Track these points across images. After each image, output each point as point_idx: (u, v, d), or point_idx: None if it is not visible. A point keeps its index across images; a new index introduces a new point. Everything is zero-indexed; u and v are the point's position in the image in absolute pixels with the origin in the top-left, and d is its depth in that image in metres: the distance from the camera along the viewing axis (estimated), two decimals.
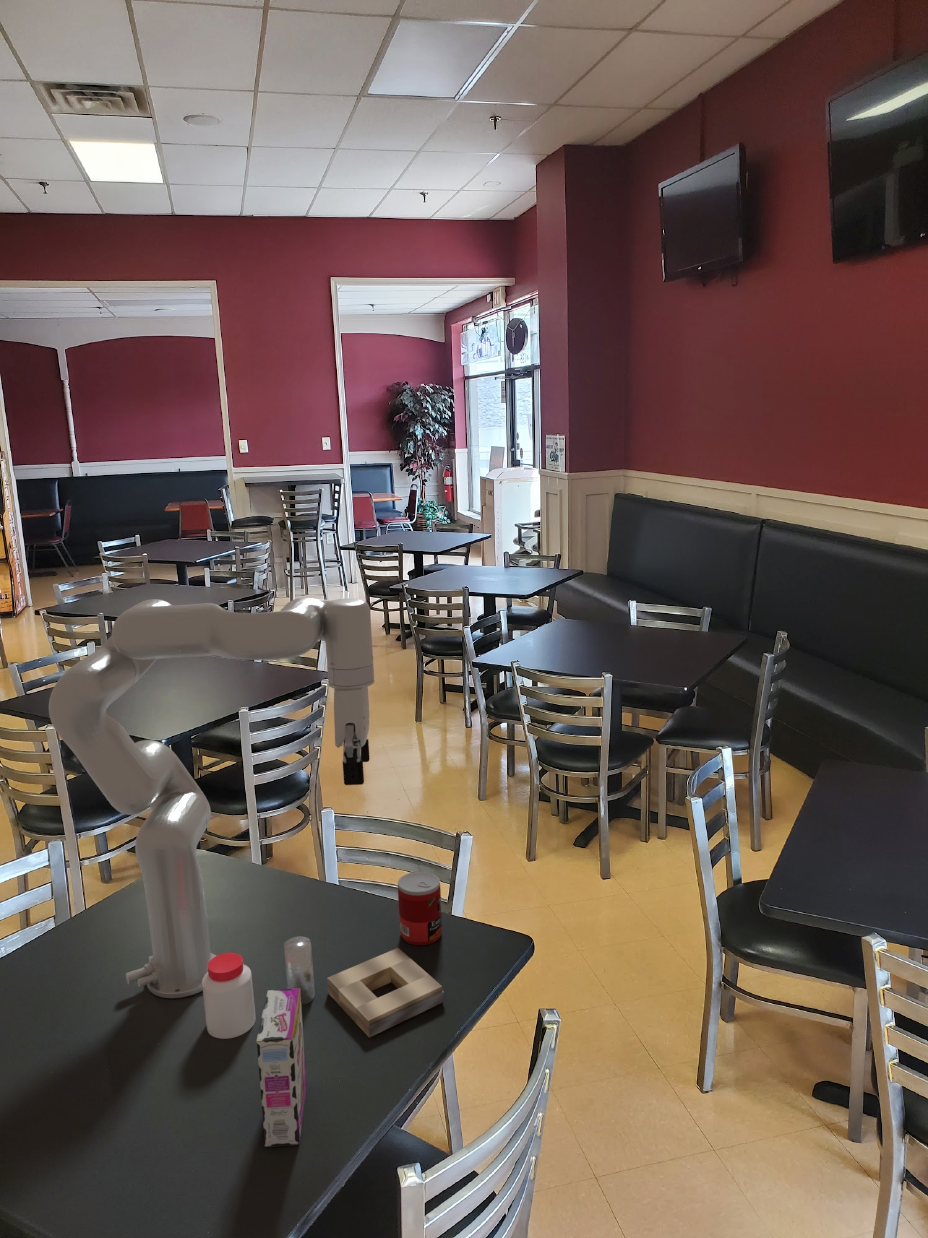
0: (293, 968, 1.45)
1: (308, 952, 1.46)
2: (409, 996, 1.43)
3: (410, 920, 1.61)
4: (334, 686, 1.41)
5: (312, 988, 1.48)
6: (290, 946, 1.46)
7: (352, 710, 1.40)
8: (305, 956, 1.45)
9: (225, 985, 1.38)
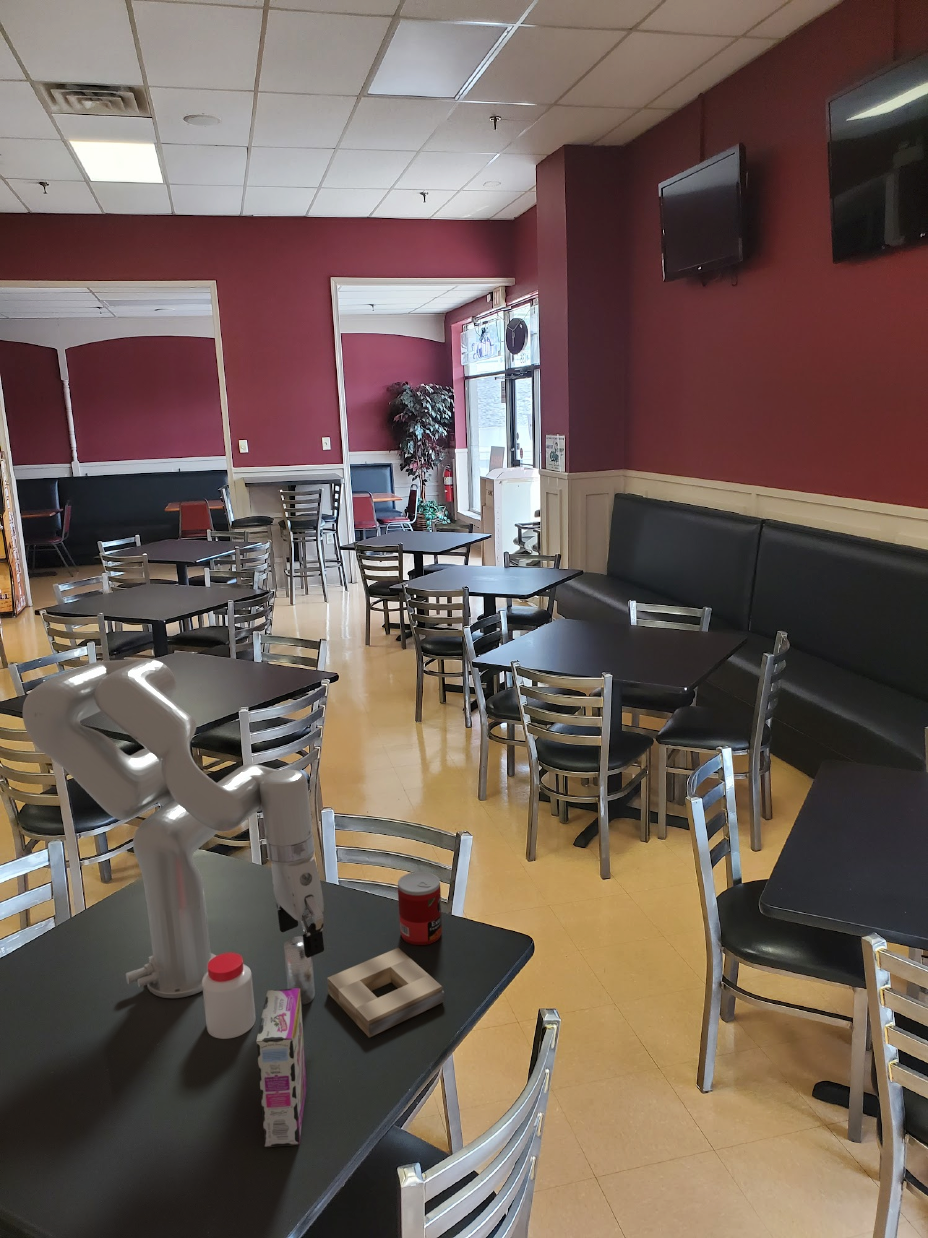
0: (293, 968, 1.45)
1: None
2: (409, 996, 1.43)
3: (410, 920, 1.61)
4: None
5: (312, 988, 1.48)
6: (290, 946, 1.46)
7: None
8: (305, 956, 1.45)
9: (225, 985, 1.38)
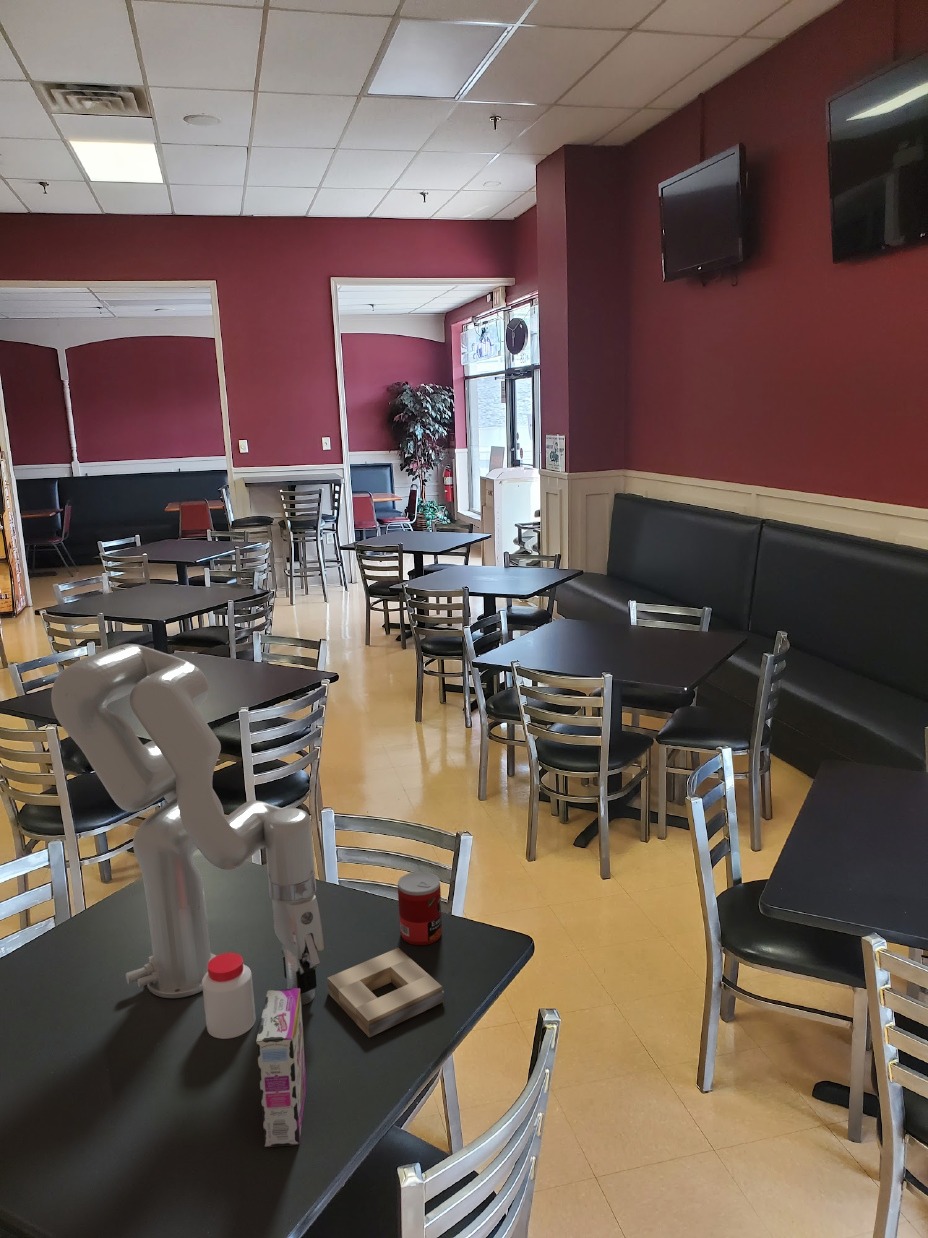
0: (293, 968, 1.45)
1: None
2: (409, 996, 1.43)
3: (410, 920, 1.61)
4: None
5: None
6: None
7: None
8: None
9: (225, 985, 1.38)
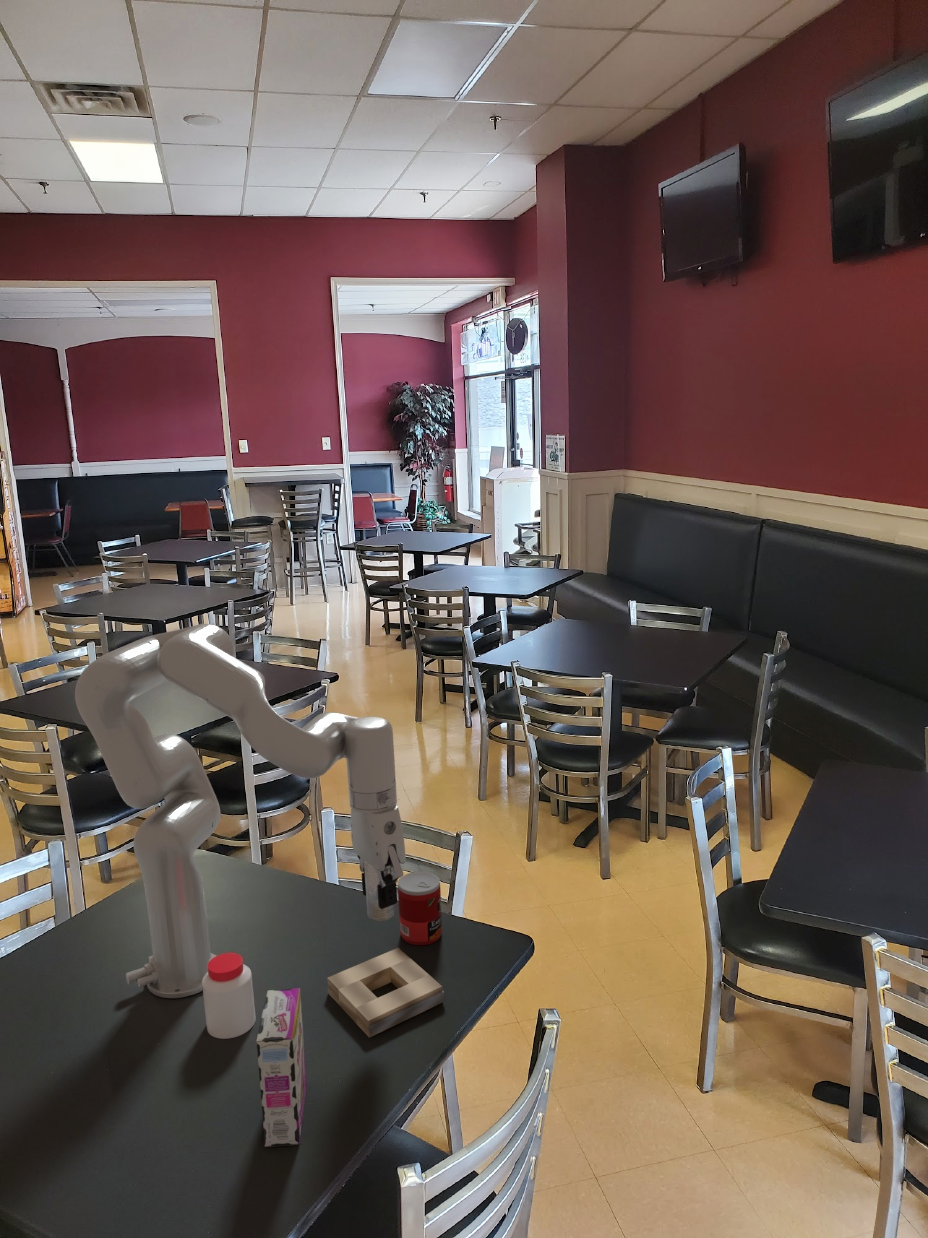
0: (374, 881, 1.41)
1: None
2: (409, 996, 1.43)
3: (410, 920, 1.61)
4: None
5: None
6: None
7: None
8: None
9: (225, 985, 1.38)
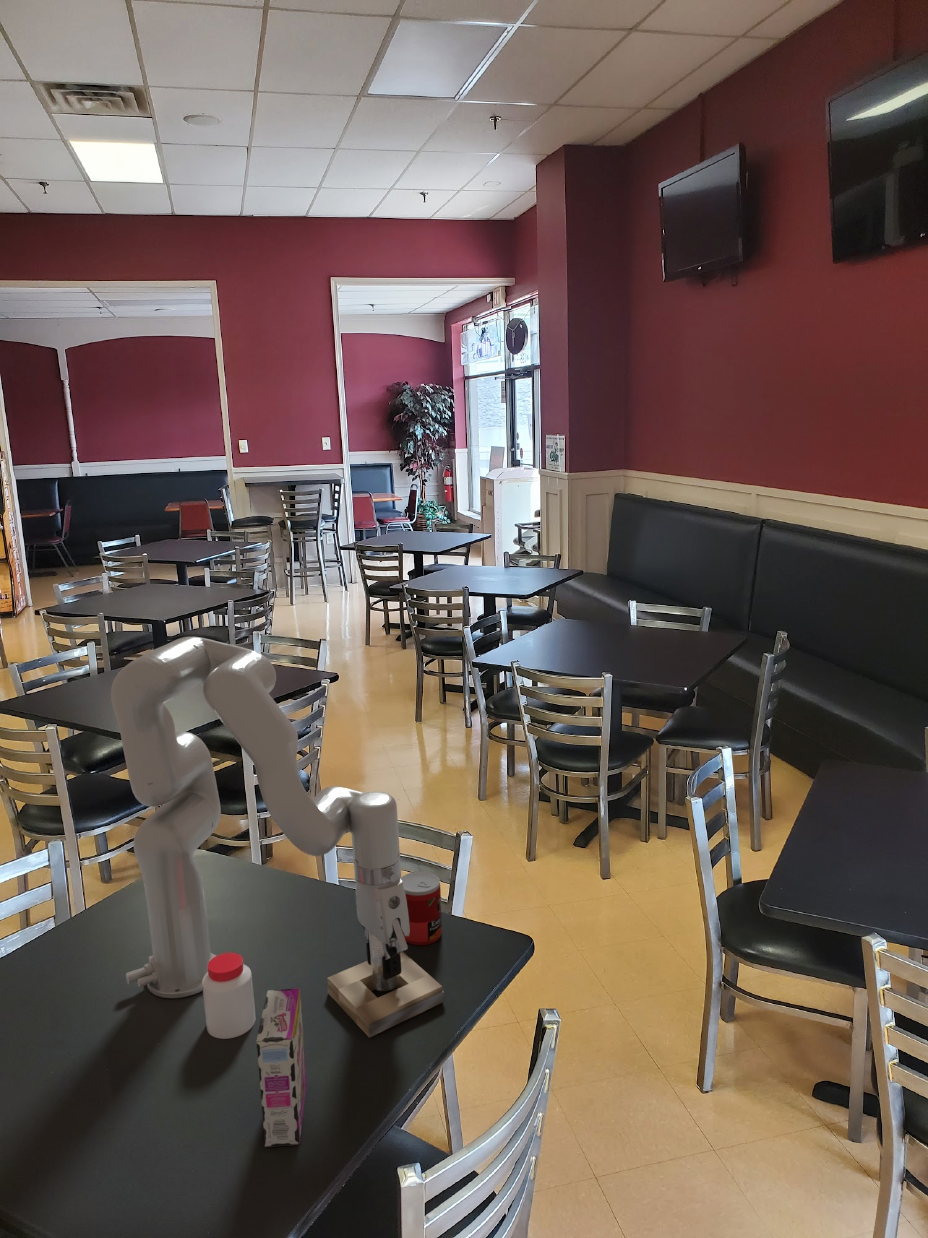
0: (378, 953, 1.44)
1: None
2: (409, 996, 1.43)
3: (410, 920, 1.61)
4: None
5: None
6: None
7: None
8: None
9: (225, 985, 1.38)
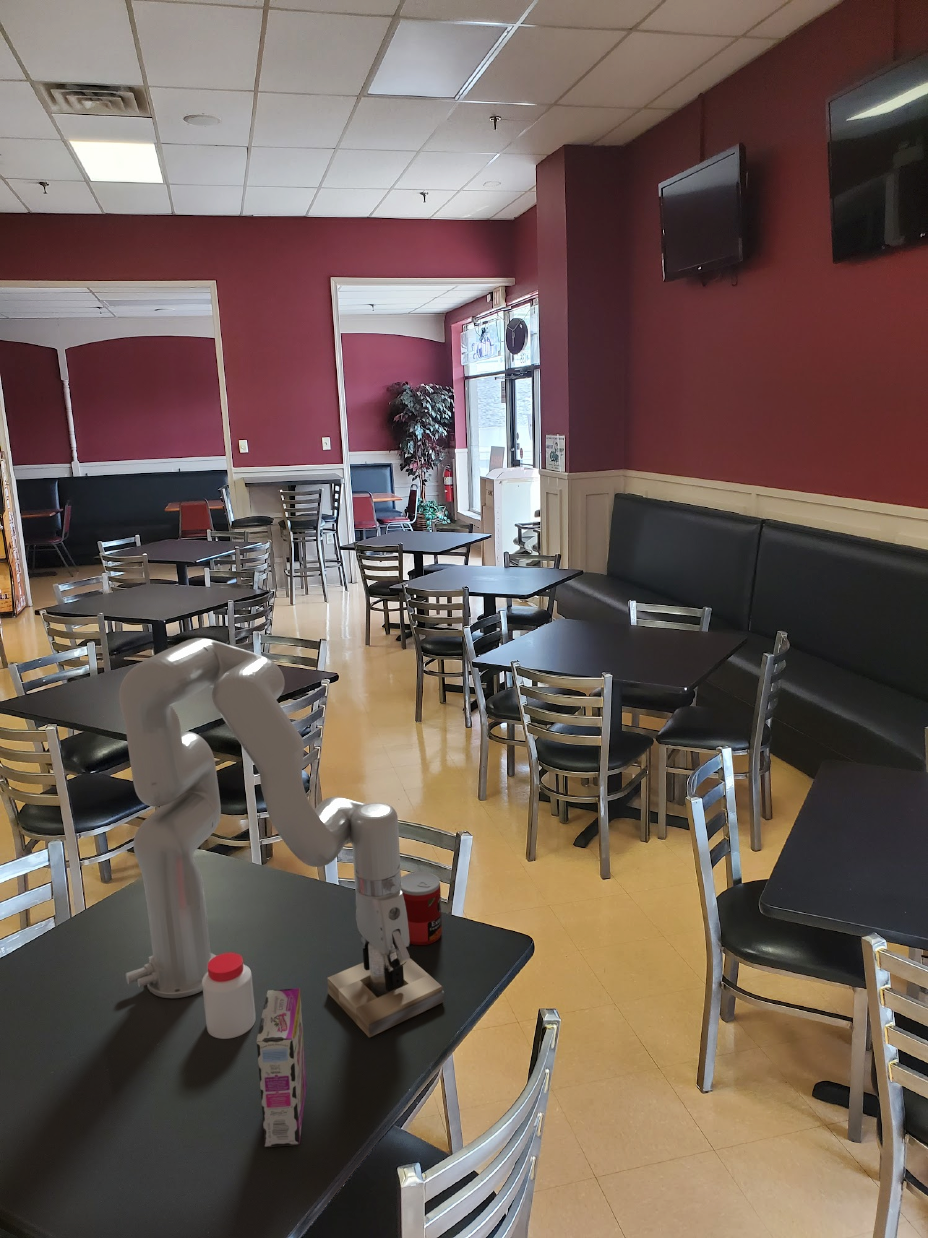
0: (378, 968, 1.44)
1: None
2: (409, 996, 1.43)
3: (410, 920, 1.61)
4: None
5: None
6: None
7: None
8: (390, 957, 1.44)
9: (225, 985, 1.38)
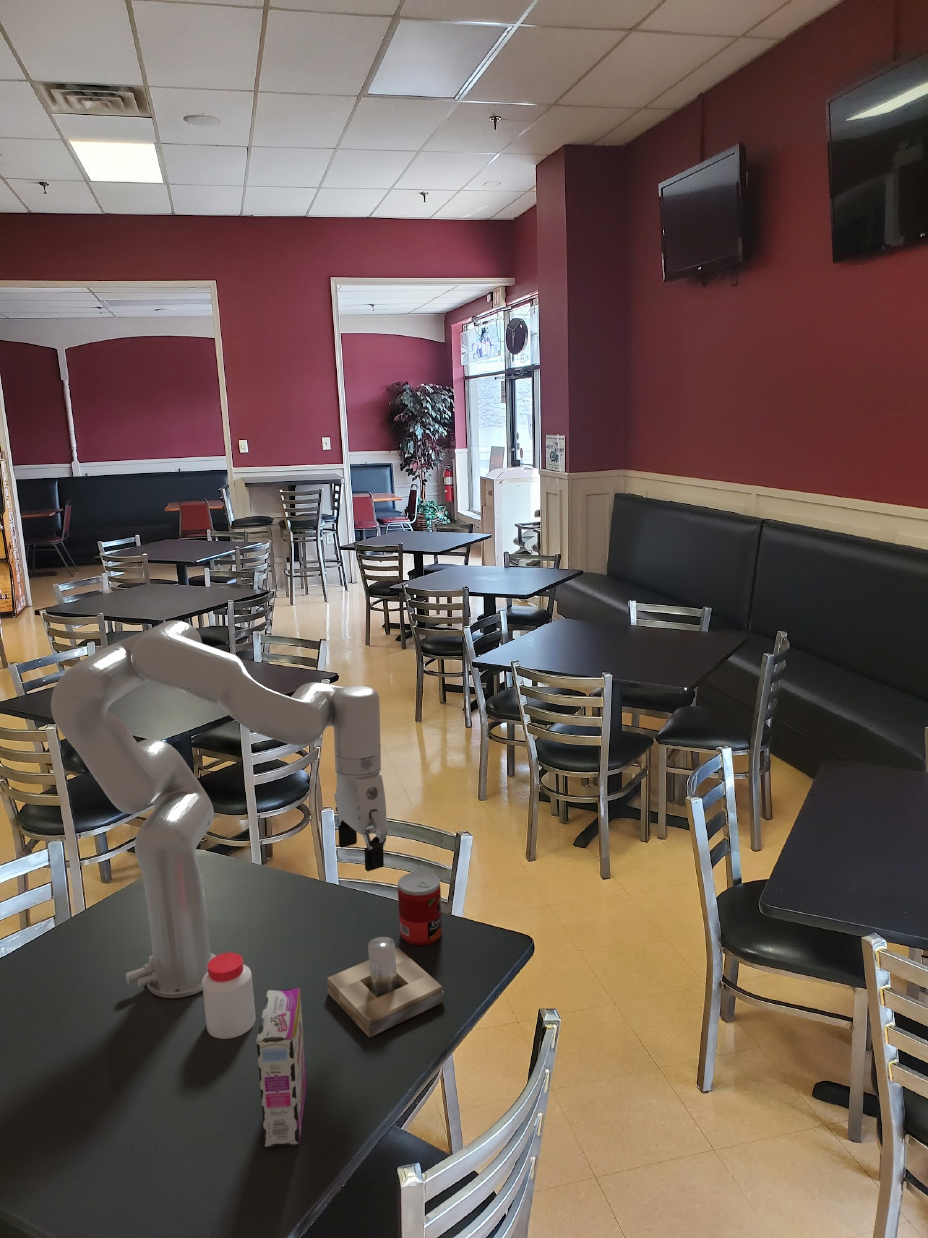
0: (378, 968, 1.44)
1: (392, 952, 1.45)
2: (409, 996, 1.43)
3: (410, 920, 1.61)
4: None
5: None
6: (375, 946, 1.45)
7: None
8: (389, 957, 1.44)
9: (225, 985, 1.38)
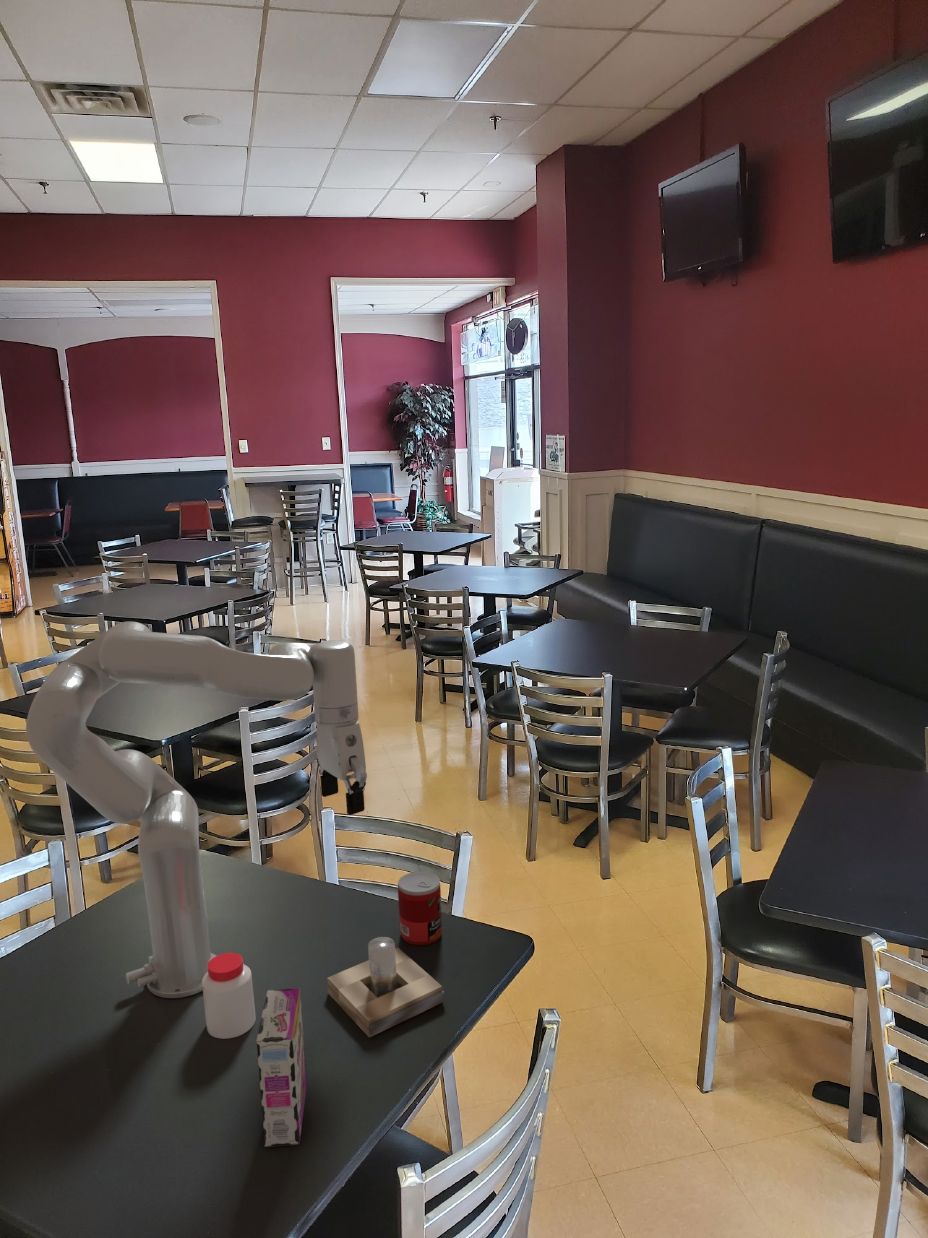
0: (378, 968, 1.44)
1: (392, 952, 1.45)
2: (409, 996, 1.43)
3: (410, 920, 1.61)
4: None
5: None
6: (375, 946, 1.45)
7: None
8: (389, 957, 1.44)
9: (225, 985, 1.38)
